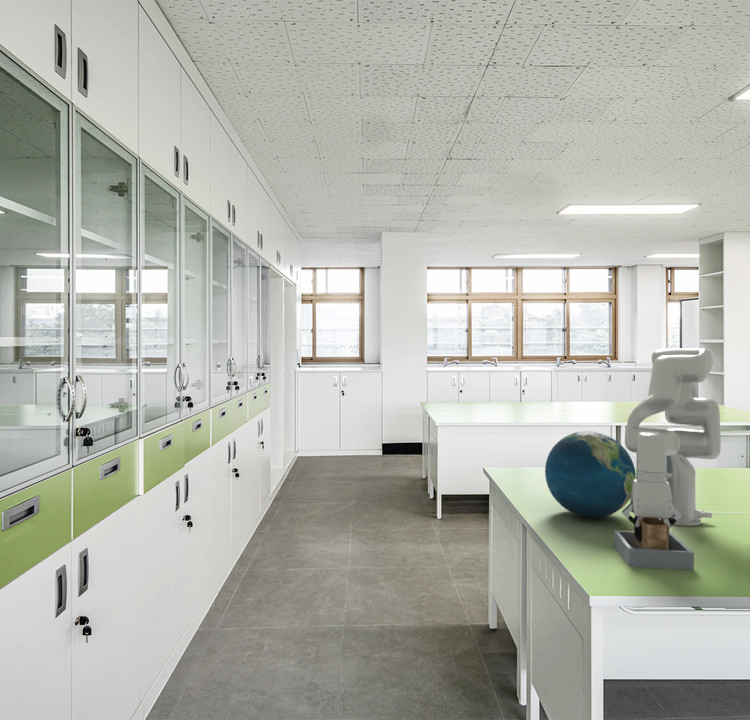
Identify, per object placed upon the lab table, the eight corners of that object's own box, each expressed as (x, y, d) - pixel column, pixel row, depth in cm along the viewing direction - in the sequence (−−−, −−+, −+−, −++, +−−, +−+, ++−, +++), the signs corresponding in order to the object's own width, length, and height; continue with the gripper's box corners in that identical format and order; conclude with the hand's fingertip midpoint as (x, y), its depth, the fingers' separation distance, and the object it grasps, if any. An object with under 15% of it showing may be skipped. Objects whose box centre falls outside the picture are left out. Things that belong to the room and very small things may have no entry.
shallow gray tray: (672, 550, 158) (672, 533, 158) (693, 571, 142) (693, 552, 142) (614, 547, 161) (613, 530, 161) (629, 567, 145) (628, 549, 145)
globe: (579, 533, 172) (579, 439, 172) (529, 508, 201) (528, 427, 200) (656, 525, 180) (656, 435, 180) (597, 502, 208) (596, 424, 208)
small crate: (657, 544, 155) (657, 516, 155) (668, 555, 146) (668, 526, 146) (635, 542, 156) (635, 515, 156) (645, 554, 147) (645, 524, 147)
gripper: (679, 474, 153) (679, 537, 153) (615, 472, 156) (615, 534, 156) (690, 480, 146) (690, 547, 146) (622, 478, 149) (622, 543, 149)
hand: (651, 540), depth 151 cm, fingers closed on small crate, 6 cm apart
